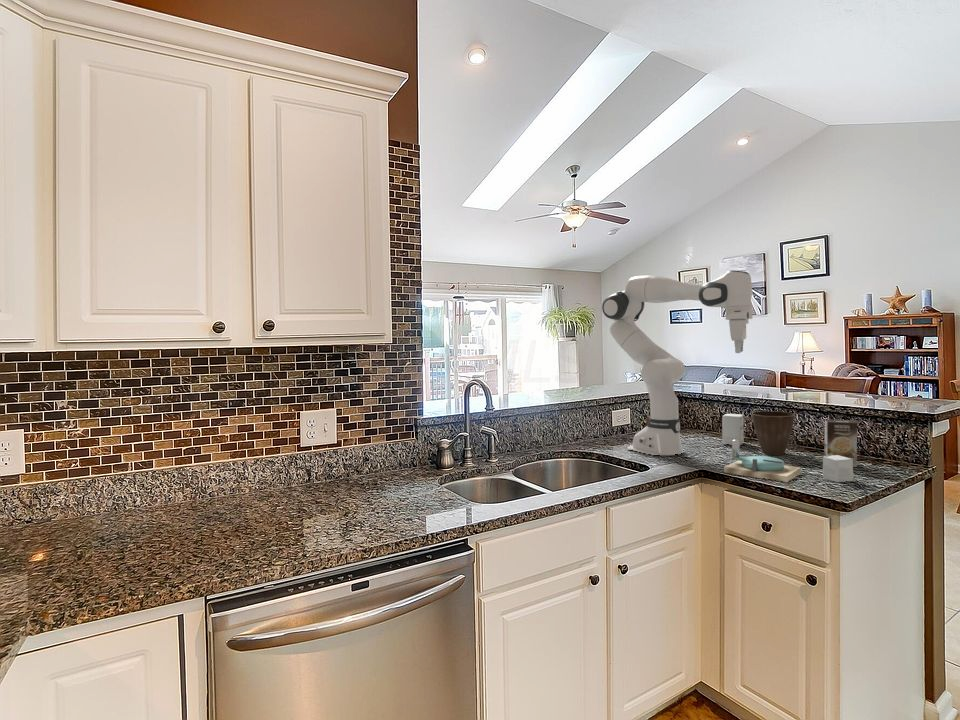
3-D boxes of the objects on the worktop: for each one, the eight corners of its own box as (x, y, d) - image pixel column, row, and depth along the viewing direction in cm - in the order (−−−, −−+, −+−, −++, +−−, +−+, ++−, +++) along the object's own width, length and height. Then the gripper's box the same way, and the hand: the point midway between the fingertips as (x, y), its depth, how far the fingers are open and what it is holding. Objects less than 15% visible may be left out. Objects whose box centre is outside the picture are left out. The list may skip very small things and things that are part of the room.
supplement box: (740, 446, 230) (740, 416, 229) (721, 444, 234) (721, 415, 234) (744, 442, 236) (743, 414, 235) (726, 441, 240) (725, 413, 240)
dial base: (724, 472, 190) (724, 455, 190) (740, 464, 200) (740, 448, 200) (786, 482, 176) (786, 464, 175) (800, 473, 185) (800, 456, 185)
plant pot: (744, 452, 218) (743, 413, 217) (766, 447, 225) (766, 409, 224) (780, 459, 205) (779, 417, 204) (802, 454, 212) (802, 413, 212)
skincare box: (853, 481, 174) (853, 458, 174) (837, 482, 174) (836, 460, 173) (838, 476, 180) (838, 454, 180) (822, 477, 180) (822, 455, 179)
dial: (725, 465, 191) (724, 442, 190) (739, 458, 200) (739, 436, 199) (776, 472, 179) (776, 449, 178) (789, 465, 188) (789, 442, 187)
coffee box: (826, 466, 193) (826, 421, 193) (823, 462, 199) (823, 418, 198) (857, 468, 190) (857, 422, 189) (853, 463, 195) (853, 419, 194)
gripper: (731, 315, 208) (732, 351, 208) (726, 314, 190) (727, 353, 191) (750, 314, 204) (750, 351, 205) (746, 313, 187) (746, 353, 187)
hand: (739, 352), depth 198 cm, fingers open, 8 cm apart
